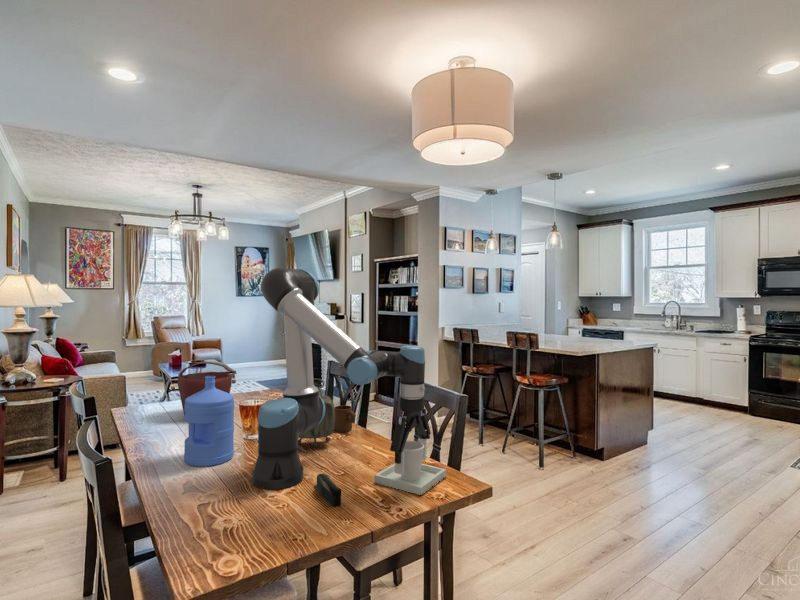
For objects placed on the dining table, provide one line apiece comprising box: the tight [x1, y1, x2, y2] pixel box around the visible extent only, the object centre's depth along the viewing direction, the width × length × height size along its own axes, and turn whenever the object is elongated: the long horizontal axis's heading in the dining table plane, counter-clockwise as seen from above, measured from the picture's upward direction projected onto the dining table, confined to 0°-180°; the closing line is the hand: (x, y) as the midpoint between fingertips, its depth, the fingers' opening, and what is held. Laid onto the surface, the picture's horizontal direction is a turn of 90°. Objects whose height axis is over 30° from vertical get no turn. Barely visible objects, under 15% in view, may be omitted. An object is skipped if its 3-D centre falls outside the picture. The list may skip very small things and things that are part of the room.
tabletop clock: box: [298, 377, 335, 448], centre depth 167 cm, size 14×9×25 cm, turn 108°
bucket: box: [177, 361, 236, 417], centre depth 204 cm, size 24×22×25 cm
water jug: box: [183, 376, 235, 467], centre depth 152 cm, size 16×16×28 cm
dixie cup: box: [401, 440, 424, 481], centre depth 137 cm, size 8×8×10 cm
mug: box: [334, 405, 356, 433], centre depth 185 cm, size 12×8×9 cm, turn 40°
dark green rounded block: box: [313, 473, 342, 508], centre depth 125 cm, size 5×3×15 cm
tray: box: [374, 463, 447, 496], centre depth 137 cm, size 16×16×2 cm
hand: (411, 466), depth 137 cm, fingers open, 13 cm apart
